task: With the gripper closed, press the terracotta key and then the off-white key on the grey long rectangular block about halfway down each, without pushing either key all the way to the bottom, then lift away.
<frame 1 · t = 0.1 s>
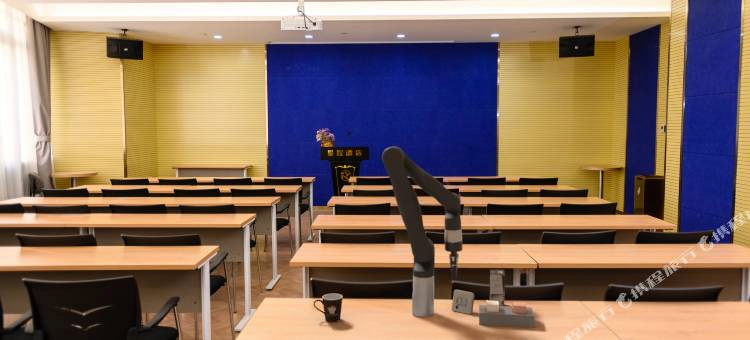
hand: (454, 276, 243), 17 cm above the table, tool pointing down, fingers open, 8 cm apart
coffee mug: (329, 319, 242), on the table
key white: (492, 308, 237), point 6 cm above the table, slide at 0.0 cm
grey long rectangular block: (505, 321, 236), on the table
coffee box: (497, 307, 255), on the table
electrical switch: (463, 311, 250), on the table
key terracotta: (519, 309, 235), point 5 cm above the table, slide at 0.0 cm
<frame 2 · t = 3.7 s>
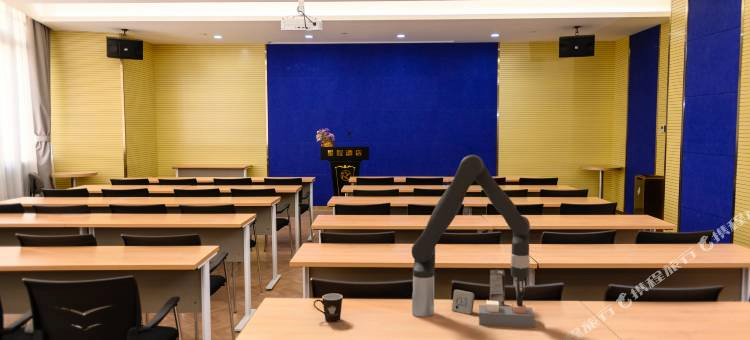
hand: (519, 305, 235), 7 cm above the table, tool pointing down, fingers closed
key terracotta: (519, 311, 235), point 5 cm above the table, slide at 0.7 cm, touching gripper
everything else where it was.
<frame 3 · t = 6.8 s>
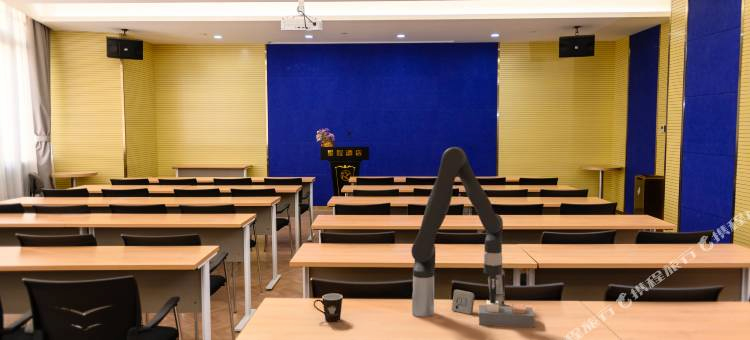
hand: (492, 302, 237), 8 cm above the table, tool pointing down, fingers closed
key white: (492, 308, 237), point 6 cm above the table, slide at 0.0 cm, touching gripper
key terracotta: (519, 313, 235), point 4 cm above the table, slide at 1.4 cm
everything else where it was.
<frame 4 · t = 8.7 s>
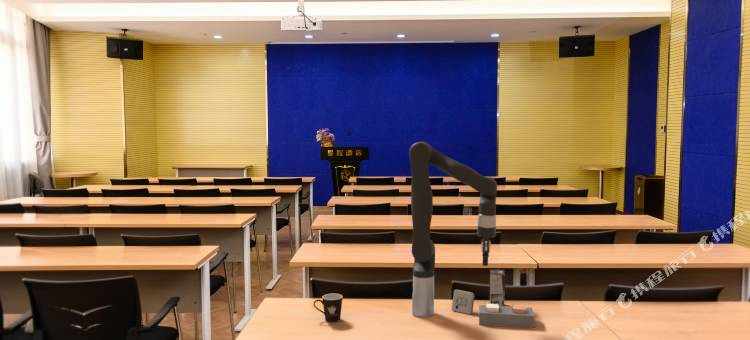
hand: (485, 265, 238), 23 cm above the table, tool pointing down, fingers closed
key white: (492, 311, 237), point 4 cm above the table, slide at 1.4 cm
everything else where it was.
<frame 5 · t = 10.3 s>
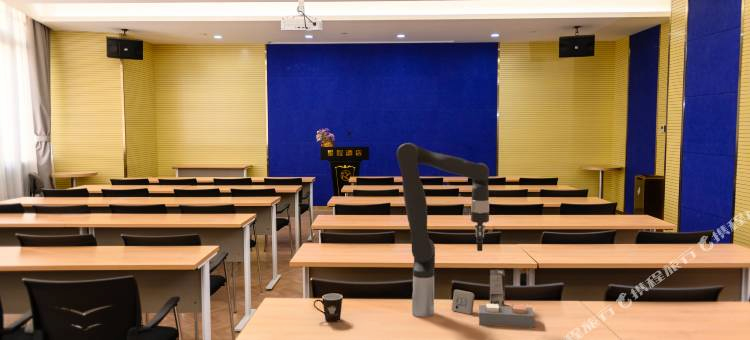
hand: (479, 250, 240), 29 cm above the table, tool pointing down, fingers closed
nothing on the table moved.
at the end: key terracotta slide at 1.4 cm; key white slide at 1.4 cm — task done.
